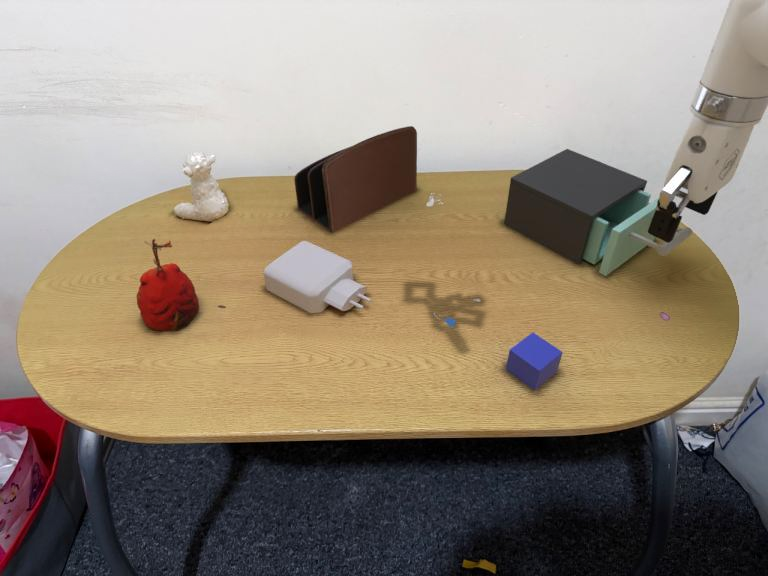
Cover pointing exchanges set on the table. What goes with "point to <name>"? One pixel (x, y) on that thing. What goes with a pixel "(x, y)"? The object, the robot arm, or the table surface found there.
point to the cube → (533, 360)
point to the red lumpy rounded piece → (166, 295)
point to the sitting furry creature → (202, 191)
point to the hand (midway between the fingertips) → (677, 223)
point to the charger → (314, 279)
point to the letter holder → (359, 179)
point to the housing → (565, 200)
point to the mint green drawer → (626, 233)
